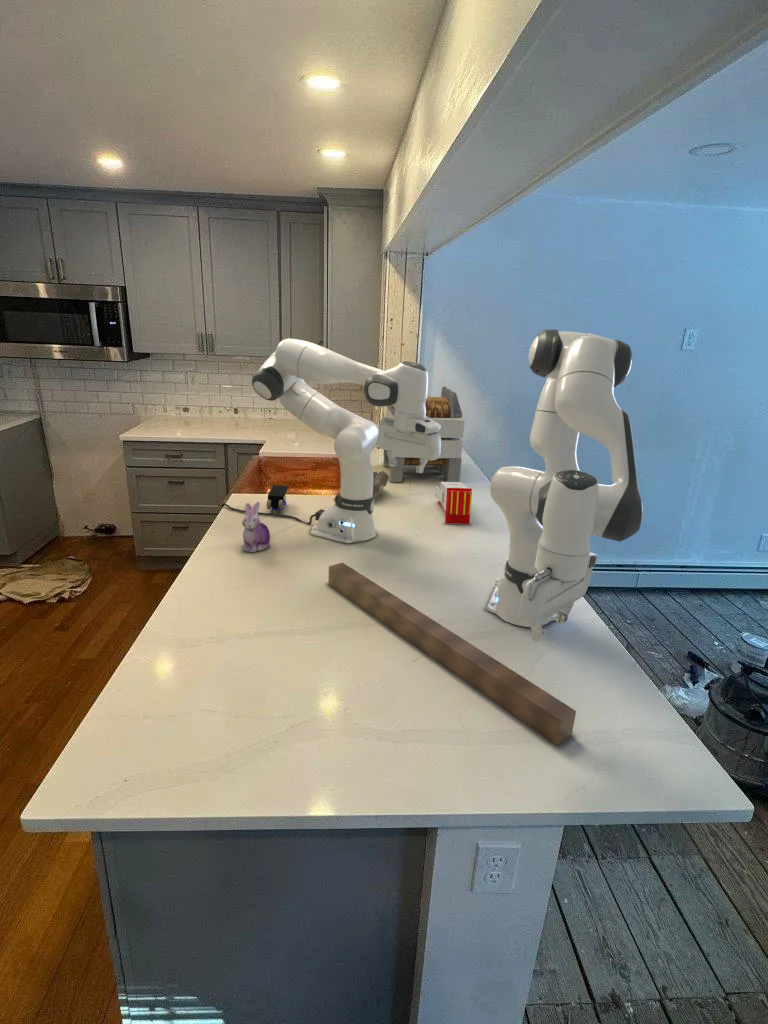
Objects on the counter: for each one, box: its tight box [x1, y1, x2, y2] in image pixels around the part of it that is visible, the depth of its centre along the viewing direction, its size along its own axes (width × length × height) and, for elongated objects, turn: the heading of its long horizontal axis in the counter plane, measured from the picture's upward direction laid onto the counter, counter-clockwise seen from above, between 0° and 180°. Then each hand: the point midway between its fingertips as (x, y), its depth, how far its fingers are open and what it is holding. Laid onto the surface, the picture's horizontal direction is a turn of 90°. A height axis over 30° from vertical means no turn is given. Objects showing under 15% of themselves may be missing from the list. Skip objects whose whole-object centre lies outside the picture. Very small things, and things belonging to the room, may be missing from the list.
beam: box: [328, 562, 577, 746], centre depth 134 cm, size 78×5×6 cm, turn 38°
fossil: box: [372, 470, 389, 498], centre depth 237 cm, size 22×10×15 cm
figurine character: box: [266, 484, 289, 514], centre depth 218 cm, size 7×8×15 cm
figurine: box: [241, 501, 271, 553], centre depth 181 cm, size 9×10×15 cm
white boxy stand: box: [383, 386, 465, 483], centre depth 268 cm, size 34×33×41 cm
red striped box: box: [434, 481, 473, 525], centre depth 222 cm, size 12×13×30 cm
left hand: (406, 469), depth 164 cm, fingers open, 8 cm apart
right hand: (549, 629), depth 106 cm, fingers open, 8 cm apart
